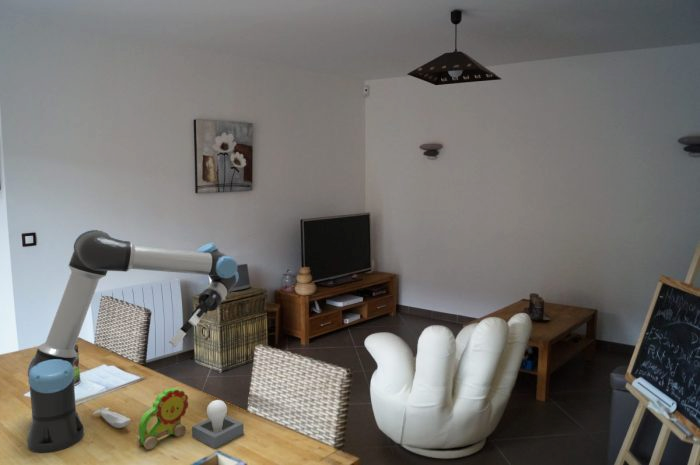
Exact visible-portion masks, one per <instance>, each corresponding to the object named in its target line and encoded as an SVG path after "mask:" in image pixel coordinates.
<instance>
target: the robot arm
mask: <svg viewBox="0 0 700 465" xmlns="http://www.w3.org/2000/svg"><path fill="white" fill-rule="evenodd" d="M68 268H69V269H70V272H71V273H70V275H69V277H68V278H69V279H68V281H67V283H66V286H65V289H64V292H63V294H62V297H61V299H60V302H59V305H58V308H57V311H56V314H55V316H54V319H53V320H52V324H51V327H50V330H49V332H48V335H47V337H46V339H45V340H46V341H45V342H43V343H42V344H40V345H39V346H38V347H37V349H36V352H35V355H34V357H33V358H32V360H31V361H30V363H29V365H28V368H27V378H28V385H29V394H30V404H31V405H30V406H31V407H30V408H31V416H32V420H31V423H30V424H31V425H30V427H29V431H28V435H27V438H26V441H27V442H26V443H27V448H28V449H29V450H30V451H33V452H36V453H49V452H56V451H59V450H64V449H65V448H68V447H71V446H73V445H75V444H76V443H78V442H79V441H80V440H81V439H82V438H84V435H85V429H84V424H83V422H82V420H81V419H80V416H79V415H78V412H77V408H76V396H75V395H76V394H75V386H74V371H73V364H74V362H75V359H76V356H77V353H76V351H75V350H74V347H75V345H77V344H76V343H77V341H78V339H79V336H80V333H81V330H82V327H83V325H84V322H85V319H86V318H87V314H88V311H89V308H90V306H91V303H92V300H93V297H94V294H95V292H96V289H97V287H98V284H99V280H101V279H102V278H104V277H106V276H107V274H108V272H125V273H126V272H128V271H130V270H142V271H154V272H155V271H156V272H168V273H179V274H180V273H181V274H191V275H192V274H193V275H206V276H208V277H209V279H210V280H211V281H210V282H209V284H208V285H207V286H206V287H205V288H204V290H202V292H201V293H200V295H199V296H198V298H197V301H198V305H197V306H196V307H195V309H194V310H193V311H192V312H191V315H190V317H189V318H188V319H187V320H186V322H184V324H183V325H182V326H181V327H180V328H179V329H178V330H177V332H176V333H175V334H174V335H173V337H172V338H171V339H170V340H169V341H168V343H169V344H171V345H172V346H173V347H174V348H176V347H177V346H178V345H179V344H180V342H181V341H182V340H183V338H184V337H187V336H188V335H187V333H188V331H189V330H191V329H192V327H196V326H197V325H198V324H199V322H200V321H201V320H202V318H203V317H204V316H205V315H206V314H207V313H208V312H214V311H216V310H217V309H218V307H220V305H221V303H222V302H223V301H226V299H227V298H226V297H227V295H229V294H230V292H231V291H232V290H233V288H234V287H236V284H237V283H238V281H239V279H240V277H239V272H238V262H237V261H236V259H235V258H234V257H232V256H231V255H227V254H225V253H222V252H220V251H219V248H218V247H217V246H216V244H215V243H214V242H209V243H206V244H204V245H202V246H201V247H199V248H198V249H197V250H196V251H191V250H183V249H174V248H173V249H172V248H171V249H170V248H163V247H155V246H154V247H153V246H143V245H135V244H134V243H132V241H127V240H121V239H119V238H118V239H117V238H114V237H112V236H111V235H110V234H108V233H107V232H105V231H103V230H98V229H91V230H87V231H84V232H82V233H80V235H78V237H77V238H76V239H75V240H74V243H73V253H72V255H71V258H70V261H69V263H68Z"/></svg>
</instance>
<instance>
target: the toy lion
mask: <svg viewBox="0 0 700 465" xmlns="http://www.w3.org/2000/svg"><path fill="white" fill-rule="evenodd" d="M188 398H189V396H188V394H186V393H185V391H184V390H182V389H180V388H175V387H170V388H169V389H168V388H165V389H163V390H162V392H161V393H159V394H158V395H157V396H156V398H155V400H154V401H153V402H152V406H151V408H149V409H147V410H146V411H145V412H144V413H143V414H142V416H141V419H140V420H139V424H138V436H137V440H136V442H137V444H138V445H140V446H144V448H145V449H147V450H152V449H154V448H155V447H156V446H157V444H158V440H159V439H160V438H161V437H163V436H167V435H174V436H175V437H178V438H181V437H183V435H185V433H186V430H187V427H186V426H185V425H184V424H182V418H183V417H184V416H185V415H186V413H187V409H188V407H189V401H188V400H189V399H188ZM153 417H156V419H157V420H156V421H157V422H155V423H154V425H152V427H151V428H150V429H149V431H148V430H147V429H148V424H149V421H150V420H151V419H152V418H153Z"/></svg>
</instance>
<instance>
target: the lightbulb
mask: <svg viewBox="0 0 700 465" xmlns="http://www.w3.org/2000/svg"><path fill="white" fill-rule="evenodd" d="M227 412H228V406H227V404H226V403H225V402H224V401H223V400H221V399H215V400H213V401H210V403H208V405H207V407H206V415H207V417H208V419H209V418H210V420H211V422H212V427H213V431H214V433H215V434H216V433H218V432H220V431H222V426H223V420H224V417H225V415H226V416H227Z"/></svg>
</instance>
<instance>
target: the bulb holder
mask: <svg viewBox="0 0 700 465" xmlns="http://www.w3.org/2000/svg"><path fill="white" fill-rule="evenodd" d="M244 434H245V433H244V422H241V421H239V420H236V419H234V418H232V417H230V416H228V415H227V414H226V415H225V417H224V420H223V426H222V431H220V432H218V433H216V434H215V433H214V431H213V427H212V422H211V420H210V418H209V417H208V419H205V420H203V421H200V422H199V423H198V422H197V423H196V424H194V425H192V426H191V435H192V436H191V437H192V438H194V439H195V440H197V441H199V442H201V443H203V444H205V445H207V446H209V447H210V446H211V448H212V447H213V449H214V450H215V449H218V448H219V447H221V446H223V445H225V444H227V443H229V442H231V441H233V440H236V439H237V438H239V437H241V436H242V435H244Z"/></svg>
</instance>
